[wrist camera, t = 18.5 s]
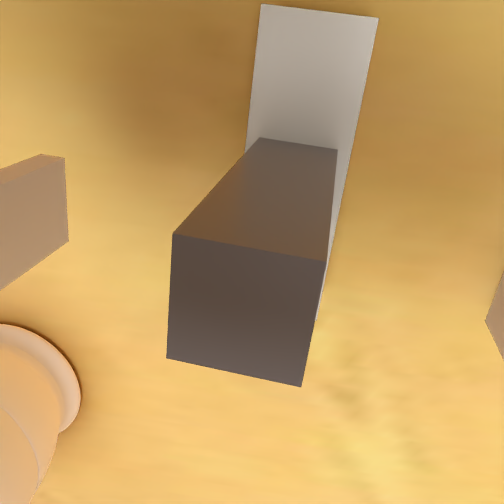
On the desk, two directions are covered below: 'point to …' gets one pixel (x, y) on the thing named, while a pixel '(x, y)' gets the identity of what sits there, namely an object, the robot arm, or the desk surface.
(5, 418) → the jar
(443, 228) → the desk surface
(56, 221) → the robot arm
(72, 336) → the desk surface
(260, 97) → the paddle
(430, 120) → the desk surface
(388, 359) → the desk surface
